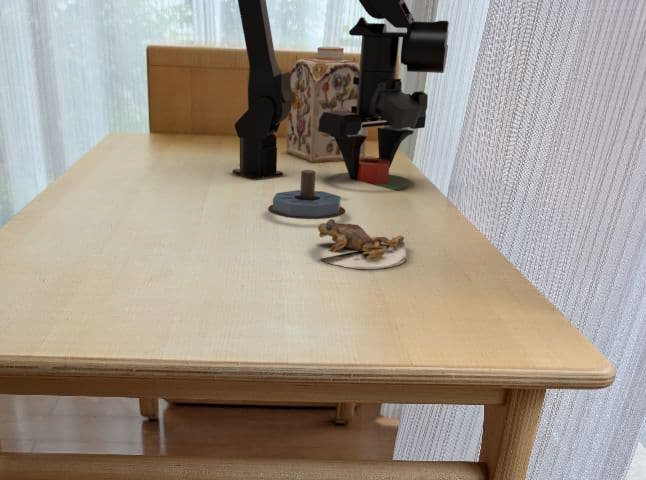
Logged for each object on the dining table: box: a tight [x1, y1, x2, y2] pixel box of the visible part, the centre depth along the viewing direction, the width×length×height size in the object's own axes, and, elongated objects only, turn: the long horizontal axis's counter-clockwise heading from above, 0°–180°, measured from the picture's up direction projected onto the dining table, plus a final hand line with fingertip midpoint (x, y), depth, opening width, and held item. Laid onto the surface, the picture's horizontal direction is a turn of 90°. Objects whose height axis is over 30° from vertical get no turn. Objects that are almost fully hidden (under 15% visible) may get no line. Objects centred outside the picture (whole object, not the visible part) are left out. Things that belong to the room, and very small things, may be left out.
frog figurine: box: [317, 218, 409, 270], centre depth 99 cm, size 12×12×4 cm
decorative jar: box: [285, 46, 368, 163], centre depth 151 cm, size 12×12×18 cm
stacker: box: [267, 169, 346, 220], centre depth 114 cm, size 11×11×6 cm
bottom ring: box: [272, 189, 342, 218], centre depth 115 cm, size 9×9×2 cm
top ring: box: [348, 156, 390, 185], centre depth 135 cm, size 6×6×3 cm
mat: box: [333, 172, 411, 192], centre depth 136 cm, size 14×14×1 cm
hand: (368, 177), depth 136 cm, fingers closed on top ring, 6 cm apart
